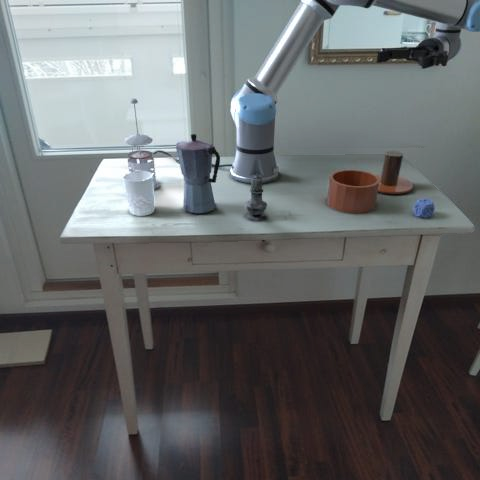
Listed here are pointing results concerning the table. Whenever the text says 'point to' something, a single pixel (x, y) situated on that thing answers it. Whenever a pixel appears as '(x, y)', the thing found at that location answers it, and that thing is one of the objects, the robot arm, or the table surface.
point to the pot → (352, 191)
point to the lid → (393, 175)
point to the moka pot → (197, 174)
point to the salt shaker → (256, 200)
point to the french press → (140, 153)
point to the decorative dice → (423, 208)
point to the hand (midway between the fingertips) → (400, 60)
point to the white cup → (139, 192)
